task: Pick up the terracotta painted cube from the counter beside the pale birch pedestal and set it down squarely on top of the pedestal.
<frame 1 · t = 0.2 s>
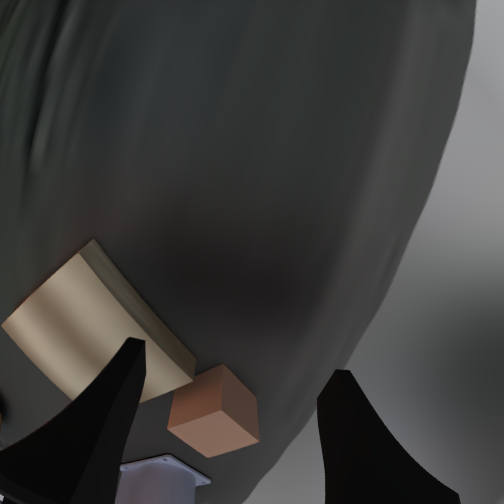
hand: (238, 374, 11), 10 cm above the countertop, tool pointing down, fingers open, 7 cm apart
cube: (216, 391, 26), on the countertop
pedestal: (97, 332, 23), on the countertop
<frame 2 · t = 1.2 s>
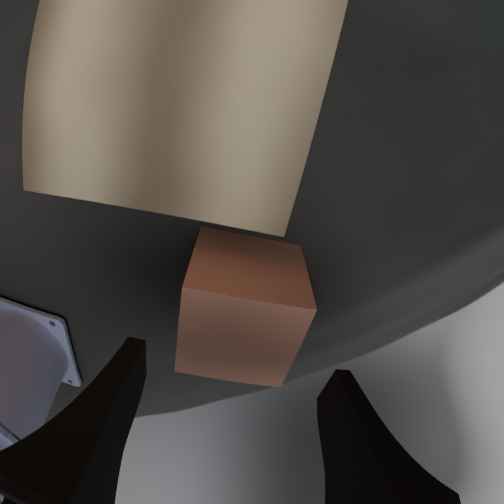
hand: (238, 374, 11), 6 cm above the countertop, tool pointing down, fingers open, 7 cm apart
cube: (241, 276, 17), on the countertop
pedestal: (176, 62, 12), on the countertop
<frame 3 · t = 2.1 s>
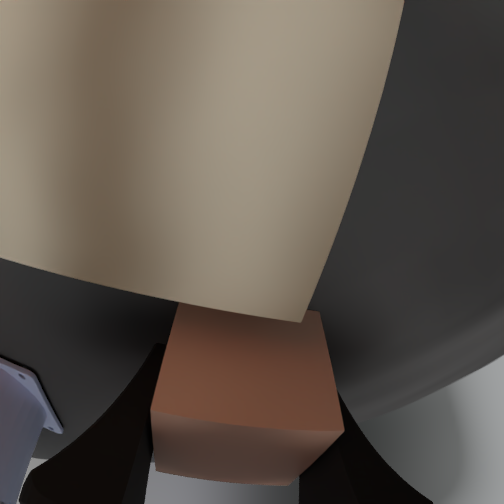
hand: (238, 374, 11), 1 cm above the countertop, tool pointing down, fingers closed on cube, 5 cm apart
cube: (239, 347, 13), on the countertop, touching gripper
pedestal: (140, 53, 7), on the countertop
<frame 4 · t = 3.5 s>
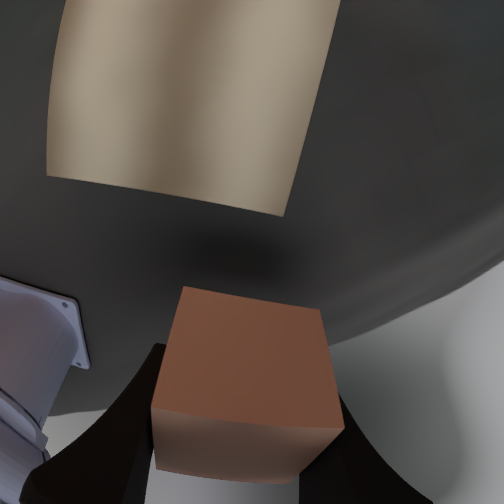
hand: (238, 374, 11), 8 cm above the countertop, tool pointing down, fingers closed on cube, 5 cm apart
cube: (239, 345, 13), point 7 cm above the countertop, touching gripper
pedestal: (187, 63, 13), on the countertop
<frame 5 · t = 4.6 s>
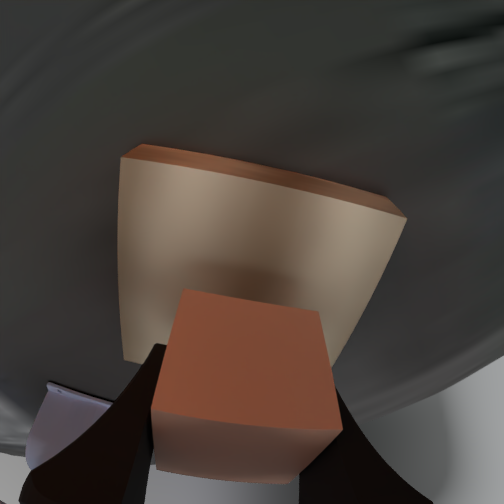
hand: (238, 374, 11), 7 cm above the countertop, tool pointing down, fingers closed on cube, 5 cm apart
cube: (239, 346, 13), point 5 cm above the countertop, touching gripper
pedestal: (243, 270, 17), on the countertop
when the fingers open (6 cm above the countertop, at t = 5.2 s): cube drops 2 cm, point 2 cm above the countertop.
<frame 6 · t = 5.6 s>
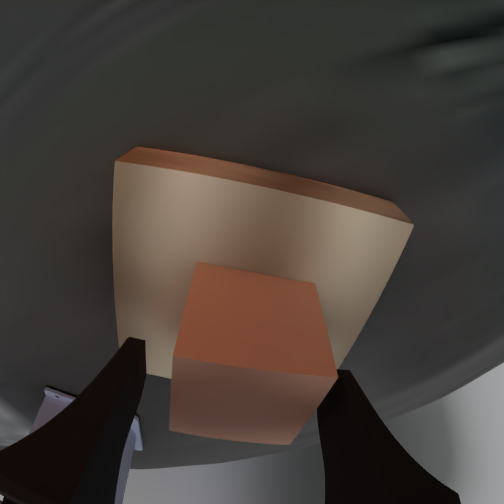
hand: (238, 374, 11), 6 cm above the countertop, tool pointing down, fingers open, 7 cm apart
cube: (245, 317, 14), point 2 cm above the countertop
pedestal: (243, 276, 17), on the countertop
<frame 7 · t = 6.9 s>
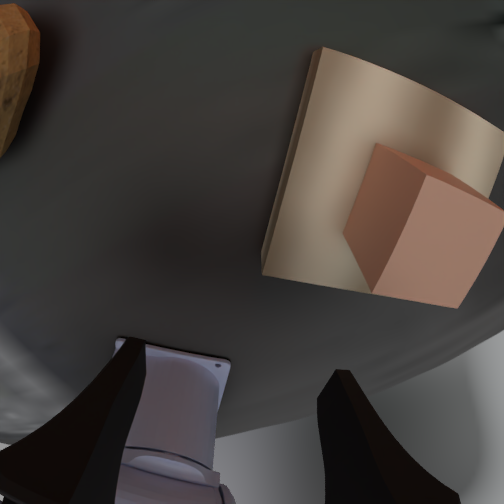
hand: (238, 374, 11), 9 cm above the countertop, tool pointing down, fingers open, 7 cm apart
cube: (400, 202, 15), point 2 cm above the countertop, touching pedestal
potato: (3, 93, 14), on the countertop
pedestal: (381, 181, 18), on the countertop, touching cube
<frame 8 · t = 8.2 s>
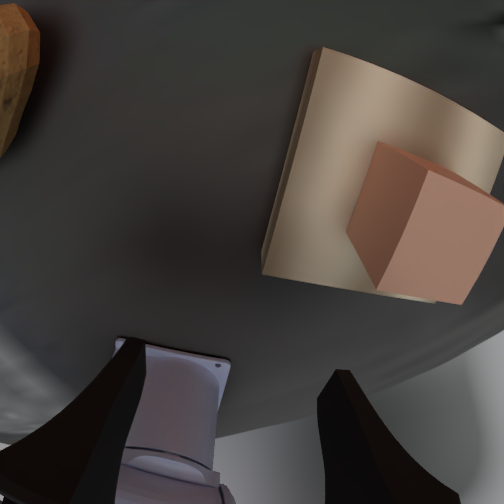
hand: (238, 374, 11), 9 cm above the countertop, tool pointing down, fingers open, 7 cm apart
cube: (403, 200, 15), point 2 cm above the countertop, touching pedestal
potato: (3, 93, 14), on the countertop
pedestal: (381, 180, 18), on the countertop, touching cube
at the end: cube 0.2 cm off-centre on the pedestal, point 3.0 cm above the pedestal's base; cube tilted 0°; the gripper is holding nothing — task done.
